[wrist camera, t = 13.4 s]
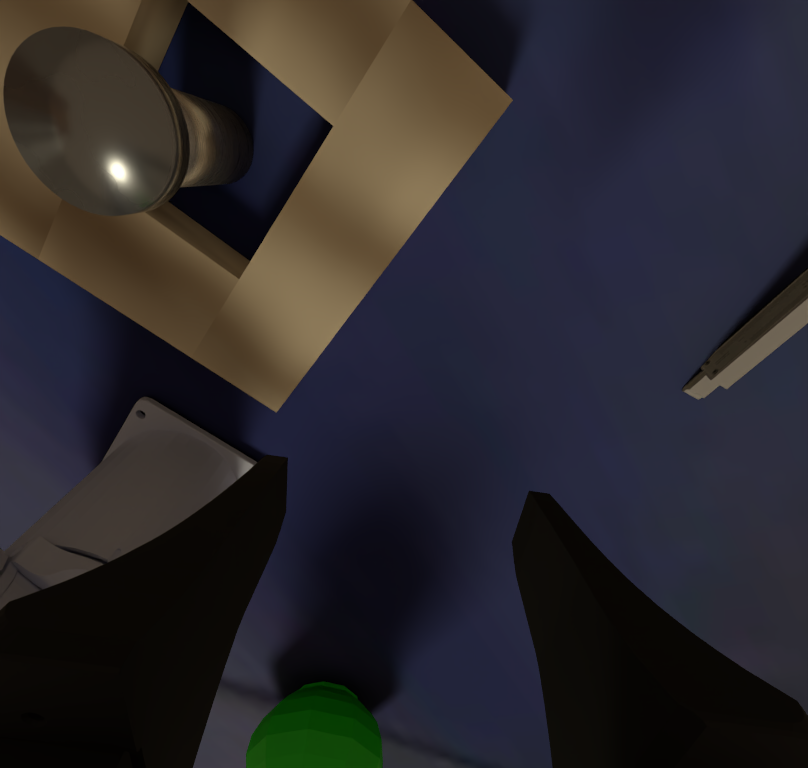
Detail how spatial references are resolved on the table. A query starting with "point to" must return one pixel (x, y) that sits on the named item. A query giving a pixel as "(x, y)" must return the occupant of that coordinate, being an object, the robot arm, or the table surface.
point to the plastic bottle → (317, 732)
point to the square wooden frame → (308, 204)
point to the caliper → (754, 339)
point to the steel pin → (114, 125)
